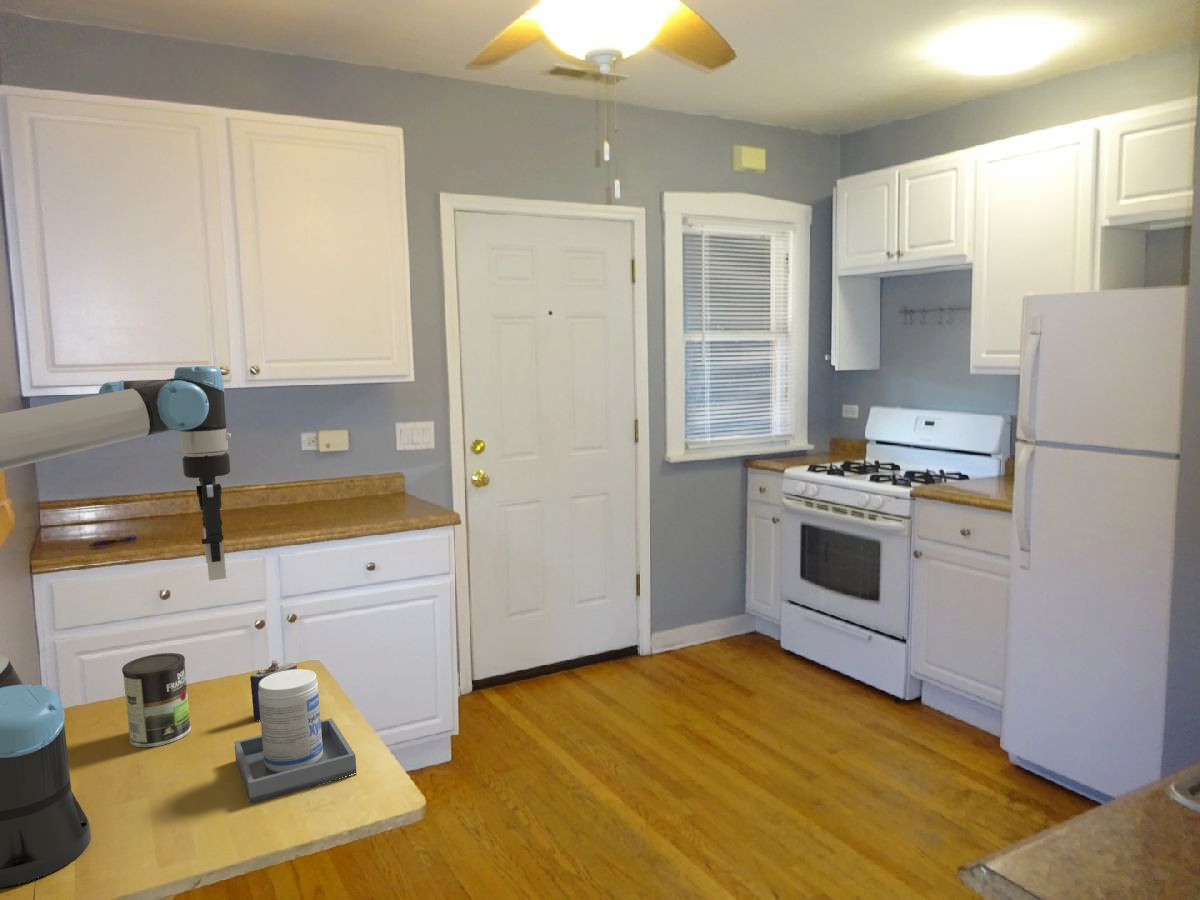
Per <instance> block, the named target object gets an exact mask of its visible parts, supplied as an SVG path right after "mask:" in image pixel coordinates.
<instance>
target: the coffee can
mask: <svg viewBox="0 0 1200 900" xmlns="http://www.w3.org/2000/svg"><path fill="white" fill-rule="evenodd" d="M121 671H122V675H123V683H124V684H123V685H124V695H125V702H126V703H125V704H126V713H127V722H128V731H129V733H128V734H129V743H130V745H132V746H134V747H137V748H153V747H161V746H164V745H167V744H172V743H174V742H178V741H179V740H181V739H183V738H184V737H185V736H187V735H188V734H189V733H190V732H191V730H192V727H191V719H190V708H189V697H188V687H187V675H186V657H185V656H184V654H180V653H175V652H168V653H167V652H166V653H165V652H164V653H163V652H162V653H156V654H149V655H146V656H141V657H138V658H136V659H134V660H131V661H129V662H127V663H126V664H124V665H123V666H122V669H121Z"/></svg>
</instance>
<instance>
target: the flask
mask: <svg viewBox="0 0 1200 900" xmlns="http://www.w3.org/2000/svg"><path fill="white" fill-rule="evenodd" d="M279 664H280V662H279V661H278V660H276V659H275V660H272V661H271V665H270V666H269V667H268V669H267V668H265V669H263V670H262V671H261V669H259V670H257V672H254V673H252V674H251V675H250V677H249V678H250V679H249V680H250V689H251V699H252V702H251V703H252V711H253V713H252V714H253V720H254V719H255V720H258V721H257V722H260V721H259V720H260V708H259V696H258V695H259V694H258V691H259V682H260V681H261V680H262V679H263V678H265V677H266V676H268V675H271V674H274V673H277V672H281V671H286V670H293V669H298V664H297V663H295V662H289V663H286V664H283V665H279ZM255 720H254V721H255Z"/></svg>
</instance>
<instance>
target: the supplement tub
mask: <svg viewBox="0 0 1200 900" xmlns="http://www.w3.org/2000/svg"><path fill="white" fill-rule="evenodd" d="M318 683H319V682H318V679H317V674H316V673H315V672H314V671H313V670H310V669H300V668H299V669H298V668H297V669H293V670H286V671H281V672H277V673H274V674H271V675H268V676H266V677H265V678H263V679H262V680H261V681H260V682H259V691H258V694H259V695H258V696H259V708H260V720H261V721H260V731H261V735H262V742H263V755H264V764H265V766H266V767H267V768H268V769H269V770H271V771H273V772H277V773H280V772H284V771H288V770H292V769H295V768H299V767H303V766H307V765H310V764H314V763H316V762H318V761H319V760H320V758H321V757H322V754H323V745H322V733H321V721H322V720H321V707H320V695H319V693H320V692H319V684H318Z"/></svg>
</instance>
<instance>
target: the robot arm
mask: <svg viewBox="0 0 1200 900" xmlns="http://www.w3.org/2000/svg"><path fill="white" fill-rule="evenodd" d="M225 392H226V390H225V387H224V381H223V374H222V371H221V369H220V368H219V367H217V366H215V365H204V366H203V365H200V366H196V365H195V366H179V367H176V368H175V370H174V375H173V378H167V379H139V380H134V379H133V380H120V381H107V382H105V383H103V384H102V385H101V386H100V388H99V391H98V394H96V395H92V396H91V395H90V396H86V397H80V398H76V399H70V400H65V401H60V402H54V403H50V404H44V405H39V406H34V407H30V408H23V409H19V410H18V409H17V410H14V411H8V412H4V413H0V471H5V470H8V469H9V470H10V469H13V468H17V467H22V466H25V465H29V464H33V463H39V462H42V461H46V460H51V459H54V458H58V457H63V456H67V455H72V454H75V453H79V452H83V451H87V450H92V449H96V448H100V447H105V446H109V445H113V444H117V443H120V442H126V441H129V440H134V439H137V438H142V437H146V436H153V435H156V434H161V433H165V432H169V431H170V432H171V431H177V432H178V431H179V438H180V441H179V442H180V448H181V449H180V450H181V453H182V454H185V455H184V456H183V458H182V466H183V467H182V469H183V475H184V477H186V478H189V479H198V481H199V485H195V488H196V496H197V498H198V503H199V509H200V511H201V512H202V517H201V521H202V526H203V528H202V529H203V538H202V539H201V544H202V545H204V551H205V563H206V564H207V573H208V581H214V580H215V581H216V580H222V579H223V580H224V579H227V570H226V560H225V559H226V558H225V549H224V547H225V546H224V535H223V527H222V526H223V521H222V520H223V519H222V518H221V509H222V494H223V493H222V485H221V483H216V482H217V481H216V477H222V476H226V475H229V474H230V473H231V463H230V454H228V452H226V451H228V450H229V443H228V441H229V440H227V439H231V438H232V435H231V433H229V432H227V421H226V420H227V419H226V417H227V416H226V407H225V406H226V405H225ZM65 720H66V714H65V710H64V707H63V704H62V700H61V698H60V696H59V694H58V693H57V692H56V691H55V690H53V688H51V687H48V686H45V685H41V684H36V685H32V684H31V683H29V684H28V683H27V684H24V683H23V682H22V680H21V678H20V676H19V675H18V673H17V671H16V670H15V667H14V666H13V665H12V663H11V661H10V659H9V658H8V656H7V655H4V654H0V889H1V888H7V887H8V888H9V887H13V885H14V886H17V885H16V884H18V885H20V884H19V883H22V884H25V883H24V882H26V883H28V882H31V880H32V881H35V880H37V879H36V878H38V877H40V878H42V877H41V876H43V877H45V876H47V875H46V874H48V875H50V874H52V873H54V872H56V871H58V870H60V869H62V868H63V867H65V866H67V865H69V864H70V863H71V862H73V861H74V860H75V859H77V858H78V857H80V856H81V854H82V853H83V852H84V851H86V849H87V848H88V847H89V845H90V842H91V839H92V833H91V826H90V825H91V824H90V821H89V819H88V816H86V813H85V812H84V810H83V809H82V806H81V805H80V803H79V801H78V799H77V797H76V796H75V794H74V793H73V791H72V783H71V773H70V766H69V757H68V756H69V755H68V745H67V737H66V727H65V726H66V725H65ZM49 873H50V874H49ZM34 879H35V880H34ZM38 879H39V878H38Z"/></svg>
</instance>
